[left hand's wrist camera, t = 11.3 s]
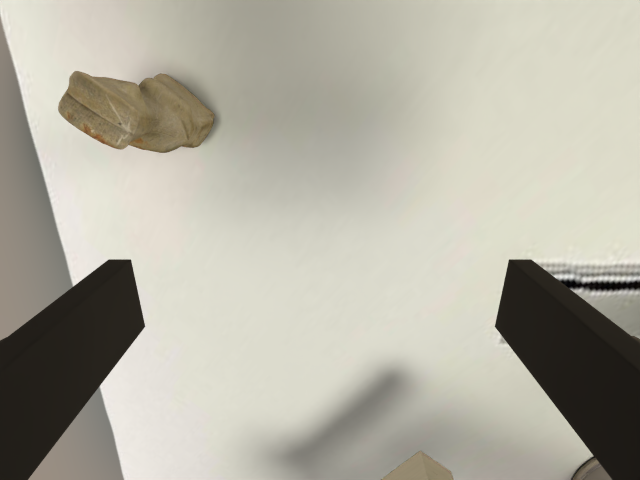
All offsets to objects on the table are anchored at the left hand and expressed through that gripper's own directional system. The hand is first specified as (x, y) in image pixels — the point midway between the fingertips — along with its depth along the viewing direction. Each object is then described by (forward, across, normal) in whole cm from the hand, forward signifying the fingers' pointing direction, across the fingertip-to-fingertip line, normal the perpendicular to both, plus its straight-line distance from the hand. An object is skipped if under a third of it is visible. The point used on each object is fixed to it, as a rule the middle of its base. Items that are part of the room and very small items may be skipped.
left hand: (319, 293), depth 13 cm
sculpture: (+29, -14, +5) cm, 33 cm away
